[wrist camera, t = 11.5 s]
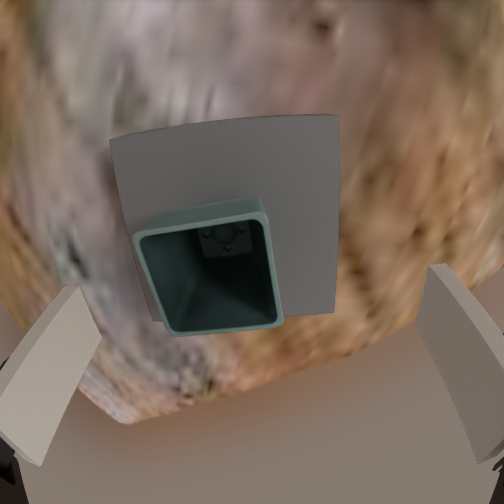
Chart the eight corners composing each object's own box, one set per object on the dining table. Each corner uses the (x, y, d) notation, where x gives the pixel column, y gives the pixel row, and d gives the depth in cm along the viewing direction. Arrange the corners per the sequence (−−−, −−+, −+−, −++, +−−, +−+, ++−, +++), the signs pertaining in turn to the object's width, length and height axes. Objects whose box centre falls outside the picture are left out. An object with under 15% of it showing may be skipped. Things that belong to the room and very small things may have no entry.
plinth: (327, 114, 27) (338, 115, 23) (327, 292, 36) (333, 312, 32) (125, 134, 28) (109, 140, 24) (161, 301, 37) (152, 321, 33)
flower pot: (189, 278, 31) (169, 339, 23) (165, 193, 27) (128, 234, 19) (278, 266, 30) (284, 327, 22) (263, 176, 26) (266, 210, 18)
